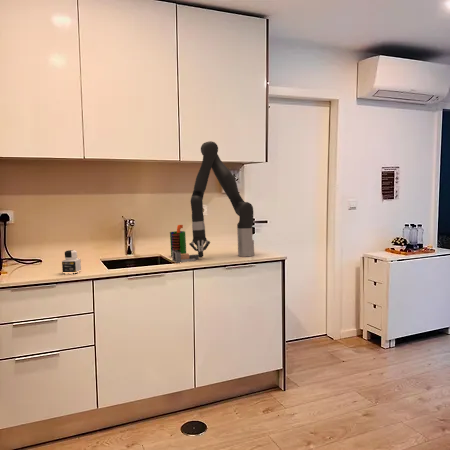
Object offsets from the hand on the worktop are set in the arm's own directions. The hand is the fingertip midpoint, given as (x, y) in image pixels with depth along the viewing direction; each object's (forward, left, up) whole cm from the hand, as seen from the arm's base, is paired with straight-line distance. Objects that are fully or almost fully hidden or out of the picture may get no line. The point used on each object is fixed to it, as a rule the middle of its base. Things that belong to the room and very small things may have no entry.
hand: (200, 257), depth 249 cm
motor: (+10, -17, -1) cm, 20 cm away
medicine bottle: (+73, +8, -1) cm, 73 cm away
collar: (+10, 0, -1) cm, 10 cm away
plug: (+7, 0, -1) cm, 7 cm away
